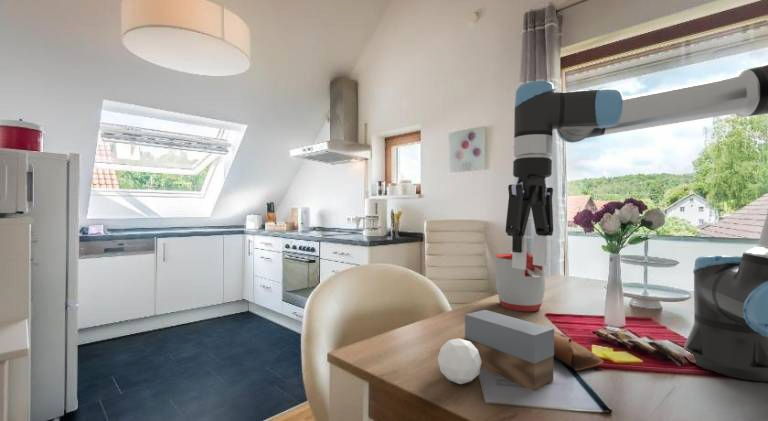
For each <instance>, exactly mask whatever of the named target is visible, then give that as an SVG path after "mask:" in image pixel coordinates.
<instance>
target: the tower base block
mask: <svg viewBox="0 0 768 421" xmlns="http://www.w3.org/2000/svg"><path fill="white" fill-rule="evenodd" d="M463 340H467V341H470V342H471V343H472V344H473V345H474V346H475V347H476V348H477V349H478V352H479V355H480V358H481V361H482V363H481V367H480V369H483V370H485V371H488V372H490V373H492V374H494V375H497V376H499V375H500V376H499V377H501V376H502V378H503V377H504V379H506V380H508V381H511V382H513V383H515V384H518V385H520V386H523V387H525V388H527V389H529V390H532V391H537V390H538V389H540V388H542V387H544V386H546V385H548V384H549V383H552V382H553V381H554V356H551V357H549V358H547V359H544V360H542V361H540V362H537V363H535V364H534V363H531V362H528V361H526V360H523V359H520V358H518V357H515V356H512V355H509V354H507V353H504V352H501V351H499V350H496V349H493V348H491V347H488V346H485V345H483V344H480V343H477V342H475V341H472V340H469V339H467V338H465V337H464V338H463Z"/></svg>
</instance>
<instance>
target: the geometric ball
mask: <svg viewBox="0 0 768 421" xmlns="http://www.w3.org/2000/svg"><path fill="white" fill-rule="evenodd" d="M437 362H438V366H439V369H440V372H441V374H443V375H444V377H446V379H447V380H448V381H450V382H453V383H456V384H458V385H463V384H467V383H471V382H472V381H474V379H475V378H476V377H478V375H479V374H480V372H481V363H482V361H481V358H480V355H479V352H478V349H477V348H476V347H475V346H474V345H473V344H472V343H471V342H470V341H467V340H464V338H460V337H459V338H454V339H448V340H447V341H446V342H445V343H444V344H443V345H442V346H441V347H440V350H439V353H438V356H437Z"/></svg>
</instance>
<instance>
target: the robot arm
mask: <svg viewBox="0 0 768 421" xmlns="http://www.w3.org/2000/svg"><path fill="white" fill-rule="evenodd" d="M514 100H515V102H514V122H513V123H514V125H513V126H514V127H513V128H514V130H513V131H514V132H513V135H514V136H513V137H514V138H513V139H514V142H513V143H514V144H513V157H514V158H516V159H514V160H513V164H512V165H513V167H512V176H513V177H514V178H518V179H517V183H516V184H515V183H514V184H513V183H511V184H509V185H508V187H507V188H508V189H507V190H508V201H507V211H506V212H507V214H506V219H505V220H506V222H505V233H506V235H507V236H509V237H512V239H511V240H512V243H511V244H512V246H511V247H512V248H511V250H512V253H511V254H512V268H517V269H523V270H525V269H526V253H528V252H527V248H528V247H527V246H528V236H525V234H526V229H527V225H528V221H529V217H530V212H531V213H532V220H533V224H534V230H535V234H534V235H532V236H533V239H532V240H533V242H532V244H533V245H532V246H533V247H532V255H533V265H538V266H545V267H547V255H548V254H547V252H548V251H547V250H548V237H550V236H553V232H554V218H553V217H554V215H553V212H554V210H553V196H554V195H553V193H554V188H553V187H547V184H546V180H545V179H546V178H549V177H551V176H552V170H553V167H552V165H553V160H552V159H551V158H550V157H552V156H553V134H554V133H553V132H554V130H556V134H557V136H558V137H559V138H560V139H561V140H563V141H564V142H567V143H571V144H573V143H579V142H581V141H584V140H585V139H590V138H595V137H600V136H604V135H605V136H606V135H611V134H616V133H618V134H619V133H622V132H623V133H624V132H630V131H636V130H640V129H641V130H642V129H647V128H654V127H660V126H666V125H672V124H678V123H680V124H681V123H686V122H690V121H697V120H702V119H708V118H715V117H720V116H721V117H722V116H728V115H735V116H737V117H741V118H747V117H752V116H759V115H760V116H761V115H766V114H768V62H767V63H764V64H760V65H758V66H755V67H750V68H746V69H745V68H744V69H741V70H739V71H737V73H735V74H734V75H733V76H730V77H725V78H721V79H719V78H718V79H715V80H714V79H713V80H710V81H704V82H699V83H694V84H688V85H684V86H678V87H672V88H668V89H662V90H657V91H652V92H651V91H650V92H647V93H642V94H641V93H640V94H636V95H631V96H625V97H623V94H622V92H621V90H620V89H618V88H603V87H599V88H596V89H595V88H594V89H582V90H571V91H556V90H555V87H554V84H553V83H552V82H550V81H549V80H548V81H547V80H544V81H542V80H532V81H528V82H524V83H522V84H520V86H518V88H517V89H516V92H515V99H514ZM692 273H693V291H694V292H693V296H694V297H693V299H694V300H693V305H694V306H693V307H694V308H693V310H694V316H693V317H694V319H693V320H694V322H693V325H692V328H691V330H690V331H689V334H688V336H687V339H686V340H685V343H684V345H683V346H684V347H683V351H684V350H686V351H688V352H690V353H691V354H693V355H694V357H695V360H696V365H695V366H697V365H698V366H697V367H699V366H700V367H699V368H701V367H702V369H704V370H706V369H707V371H709V370H711V371H710V372H712V371H715V372H719V373H722V374H721V375H723V374H724V375H723V376H727V377H732V378H736V379H741V380H748V381H753V382H754V381H755V382H767V383H768V211H767V213H766V216H765V218H764V222H763V226H762V230H761V232H760V237H759V240H758V243H757V244H756V245H755V246H754V247H751V248H749V249H747V250H745V251H743V253H742V255H741V256H740V255H737V256H736V255H700V256H698V257H696V259H695V260H694V268H693V271H692ZM715 372H714V373H715ZM719 373H718V374H719Z"/></svg>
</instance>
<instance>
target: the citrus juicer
mask: <svg viewBox="0 0 768 421" xmlns="http://www.w3.org/2000/svg"><path fill="white" fill-rule="evenodd" d="M495 257H496V258H495V259H496V260H495V262H496V263H495V264H496V265H495V269H496V271H495V272H496V274H495V275H496V276H495V277H496V278H495V280H496V281H495V282H496V291H497V295H498V301H499V303H500V305H501V307H502V306H503V308H504V307H505V308H504V309H506V308H507V310H511V311H517V312H527V313H528V312H537V311H539V310H540V309H541V306H542V304H543V299H544V296H545V292H546V266H538V265H533V254H531V253H530V254H529V253H528V252H527V253H526V269H525V270H523V269H517V268H512V253H498V254H495Z"/></svg>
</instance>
